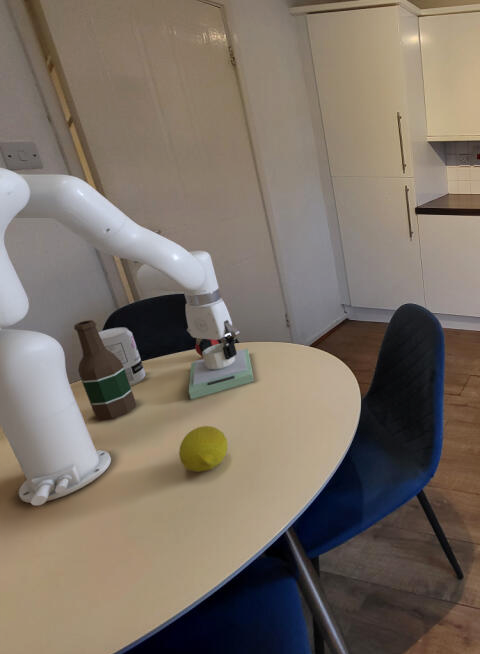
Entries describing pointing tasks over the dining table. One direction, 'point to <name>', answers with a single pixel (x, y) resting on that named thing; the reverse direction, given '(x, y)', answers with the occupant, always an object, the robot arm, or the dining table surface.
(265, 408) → the dining table surface
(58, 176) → the robot arm
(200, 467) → the lemon
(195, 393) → the scale
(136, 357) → the supplement can
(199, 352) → the onion
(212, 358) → the bowl
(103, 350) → the beer bottle
